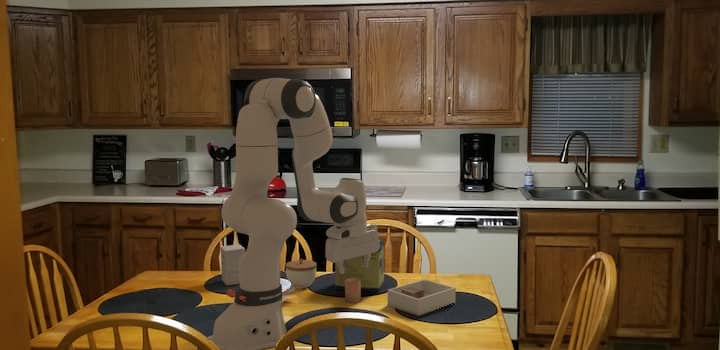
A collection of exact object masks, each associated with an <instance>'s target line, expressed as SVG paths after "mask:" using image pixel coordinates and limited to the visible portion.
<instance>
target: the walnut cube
mask: <svg viewBox="0 0 720 350" xmlns="http://www.w3.org/2000/svg"><path fill="white" fill-rule="evenodd" d="M402 294H405V295H408V296H411V297H414V298H417V299H419V298H422V297H424V290H423V289H420V288H417V287H413V286H412V287H408V288H405V289H402Z"/></svg>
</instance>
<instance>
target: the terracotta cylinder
mask: <svg viewBox="0 0 720 350" xmlns="http://www.w3.org/2000/svg"><path fill="white" fill-rule="evenodd" d="M361 292H362V291H361V280H360V279H358V278H348V279H345V290H344V302H345V303H346V304H350V305H355V304H359V303H361V302H362V301H361V300H362V296H361V294H362V293H361Z"/></svg>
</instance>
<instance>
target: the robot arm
mask: <svg viewBox="0 0 720 350" xmlns="http://www.w3.org/2000/svg"><path fill="white" fill-rule="evenodd" d="M245 89H246V90H245V92H244V97H243V98H244V99H243V107H241V108H240V109H239V112H238V115H237V116H238V117H237V122H236V130H235V131H236V132H235V177H234V178H235V179H234V182H233V186H232V190H231V192H230V194H229V196H228V197H227V199H226V200H225V201H224V203H223V204H222V207H221V214H220V215H221V219H222V221H223V223H224V224H225V225H226V226H227V227H228V228H230V229H231V230H234V231H235V232H237V233H239V234H244V235H248V239H249V240H248V245H247V249H246V250H245V253H244V254H243V255H242V256H241V257H240V259H239V280H240V284H239V285H238V288H237V290H236V291H235V290H234V289H231V288H230V289H229V288H228V290H227V291H226V296H227V297H229V298H231V299H234V300H233V302H232V303H231V304H230V305H229V306H228V307H227V308H226V309H225V310H224V311H223V312H222V313H221V314H220V315H219V316H218V317H217V318H216V319H215V321H214V325H213V329H212V330H213V331H212V332H213V333H212V335H209V336H207V337H206V338H208V339H210V340H211V341H212V342H213V343H214V344H215V345H216V346H217V347H218V348H219V350H263V349H268V348H273V347H277V346H276V344H277V343H278V341H279V340H280V338H281V337H282V336H283V335H284V334H285V333H286V332H287V333H288V330H287V327H286V324H285V320H284V314H283V305H282V302H283V301H282V300H283V285H282V284H281V256H282V251H283V250H284V249H283V248H284V245H285V243H286V241H287V239H289V238H290V237H291V236H292V235H293V234H294V232H295V230H296V228H297V223H298V217H297V213H296V211H295V209H294V208H293V207H292V206H291V205H290V204H287V203H286V202H285V201H282V200H280V199H278V198H277V199H276V198H272V197H268V190H269V186H270V185H271V182H272V180H274V179H275V178H276V177H277V175H278V172H279V148H278V147H279V146H278V145H279V144H278V141H279V140H278V131H277V126H278V123H279V122H280V120H286V119H287V120H288V121H289V124H290V128H291V133H292V136H293V141H294V142H293V143H294V146H293V148H292V151H291V161H292V168H293V169H292V171H293V174H294V175H293V176H294V182H295V189H296V195H297V196H296V197H297V200H296V206H297V211H298V214H299V215H300V217H301V218H302V219H303V220H305V221H308V222H320V223H326V224H334V225H333V226H331V227H329V228H327V230H326V231H325V234H326V236H327V237H328V238H327V239H326V240H325V260H327V262H330V263H334V264H335V263H336V264H337V266H338V267H339V273H340V274H344V273H346V268H344V267H343V265H342V264H343V263H344V261H343V260H347V259H351V258H354V257H358V256H362V255H364V256H365V257H364V260H363V261H362V262H361V264H362V265H361V266H362V267H364V268H366V267H368V262H369V260H370V257H371V253H373V252H377V251H378V250H379V248H380V244H379V241H380V239H379V237H380V236H379V232H378V226H377V225H376V224H374V223H370V224H367V223H368V222H367V213H366V208H367V194H366V188H365V187H366V186H365V183H364V181H363V180H362V179H359V178H353V177H342V178H340V179H339V181H338V182H339V183H338V184H337V185H336V187H335V188H334V189H331V191H328V190H322V189H319V188H318V187H317V186H316V183H315V175H314V170H313V169H314V168H313V163H314V161H316V160H318V159H320V158H321V157H322V156H324V155H325V154H327V153H328V152H329V150H330V149H331V147H332V145H333V138H334V137H333V132H332V127H331V124H330V121H329V117H328V114H327V112H326V110H325V107H324V105H323V103H322V101H321V99H320V97H319V95H317V93H315V90H314V88H313V87H312V85H311V84H310V83H309V82H308V81H305V80H303V79H299V78H292V79H291V78H281V77H271V78H266V79H265V78H261V79H257V80H254V81H252V82H251V83H249V85H248V86H247V88H245Z"/></svg>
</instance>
